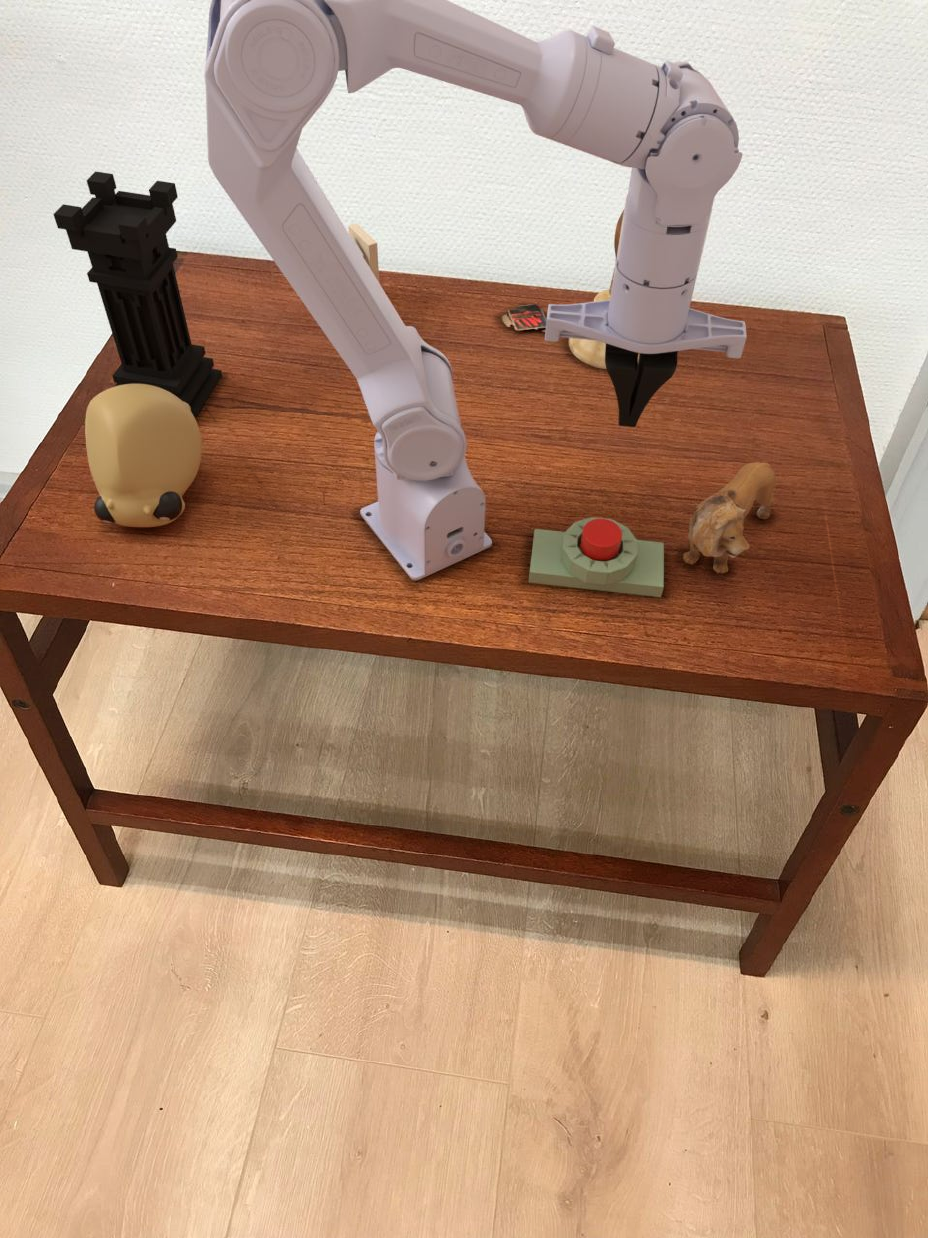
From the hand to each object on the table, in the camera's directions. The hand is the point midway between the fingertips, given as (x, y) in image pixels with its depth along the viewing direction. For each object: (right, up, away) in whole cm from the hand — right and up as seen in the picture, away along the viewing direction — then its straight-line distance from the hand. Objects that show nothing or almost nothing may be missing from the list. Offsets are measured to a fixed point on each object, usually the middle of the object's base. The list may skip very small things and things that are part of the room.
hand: (627, 418), depth 79 cm
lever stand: (-25, +18, +27) cm, 41 cm away
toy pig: (-41, -5, +8) cm, 42 cm away
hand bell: (+2, +12, +23) cm, 26 cm away
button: (-2, -10, +2) cm, 11 cm away
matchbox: (-7, +16, +26) cm, 31 cm away
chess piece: (-42, +6, +17) cm, 46 cm away
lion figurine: (+9, -10, +6) cm, 15 cm away
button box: (-2, -12, +4) cm, 13 cm away
